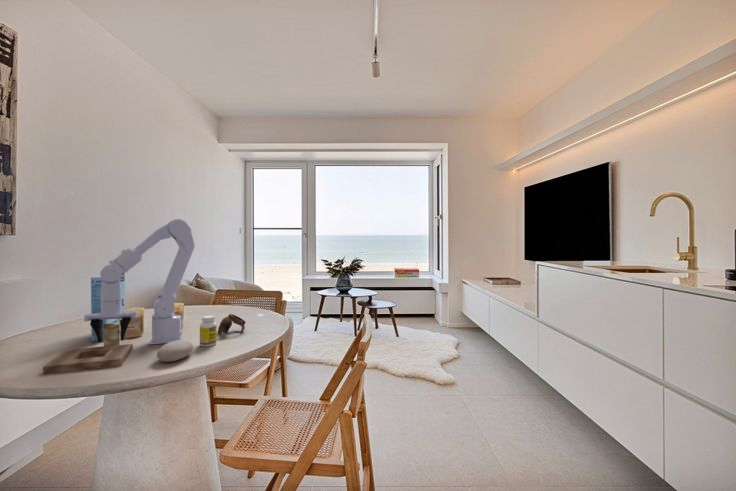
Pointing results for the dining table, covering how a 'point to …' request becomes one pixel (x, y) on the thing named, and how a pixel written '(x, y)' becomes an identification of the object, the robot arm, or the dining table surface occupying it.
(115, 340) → the beige wooden cylinder
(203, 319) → the supplement bottle
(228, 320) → the brown arch
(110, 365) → the carrier board
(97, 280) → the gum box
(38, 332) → the dining table surface
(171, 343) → the decorative stone
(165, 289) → the robot arm
